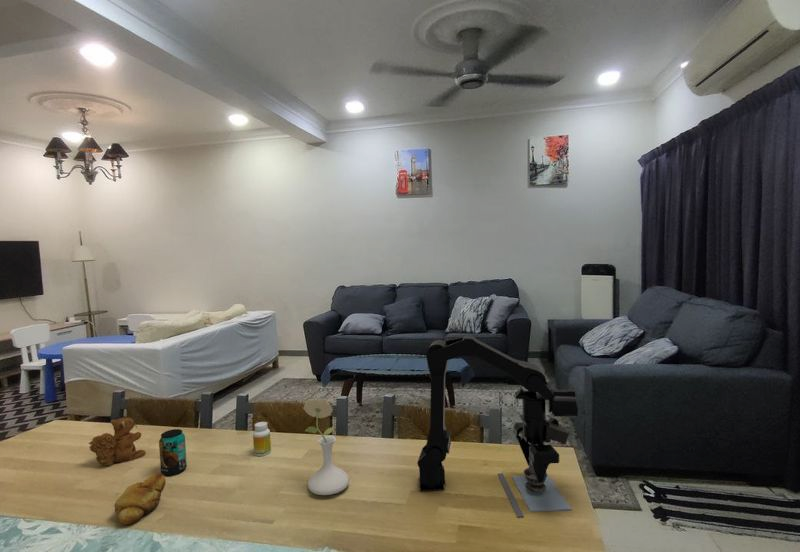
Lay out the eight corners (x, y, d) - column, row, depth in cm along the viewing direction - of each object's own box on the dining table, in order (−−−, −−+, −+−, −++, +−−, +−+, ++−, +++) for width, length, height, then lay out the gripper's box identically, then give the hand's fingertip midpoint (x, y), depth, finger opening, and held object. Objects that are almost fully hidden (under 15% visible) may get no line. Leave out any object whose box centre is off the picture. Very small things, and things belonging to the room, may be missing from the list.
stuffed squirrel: (148, 454, 143) (146, 415, 142) (101, 473, 131) (98, 431, 130) (133, 448, 148) (130, 411, 148) (86, 466, 136) (83, 425, 136)
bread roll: (138, 528, 103) (136, 496, 102) (100, 529, 103) (98, 497, 103) (170, 498, 116) (168, 469, 115) (136, 498, 116) (134, 470, 116)
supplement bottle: (268, 456, 138) (266, 427, 137) (251, 456, 138) (249, 427, 137) (273, 448, 143) (271, 420, 143) (257, 449, 143) (255, 421, 143)
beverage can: (155, 474, 129) (153, 436, 128) (175, 464, 135) (173, 427, 134) (172, 478, 126) (169, 439, 125) (192, 467, 132) (189, 429, 132)
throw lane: (517, 517, 101) (517, 516, 101) (497, 474, 121) (497, 473, 121) (574, 515, 101) (574, 513, 101) (545, 472, 121) (545, 471, 121)
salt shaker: (551, 486, 111) (550, 441, 110) (540, 495, 107) (539, 448, 106) (530, 478, 115) (529, 434, 115) (519, 487, 111) (518, 442, 110)
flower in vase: (357, 481, 120) (353, 394, 119) (334, 503, 110) (330, 408, 109) (319, 473, 126) (315, 390, 124) (294, 493, 115) (289, 403, 114)
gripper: (580, 428, 101) (581, 492, 102) (551, 401, 119) (552, 455, 120) (533, 430, 101) (535, 494, 102) (512, 402, 119) (513, 457, 120)
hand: (535, 473), depth 111 cm, fingers closed on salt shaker, 8 cm apart
